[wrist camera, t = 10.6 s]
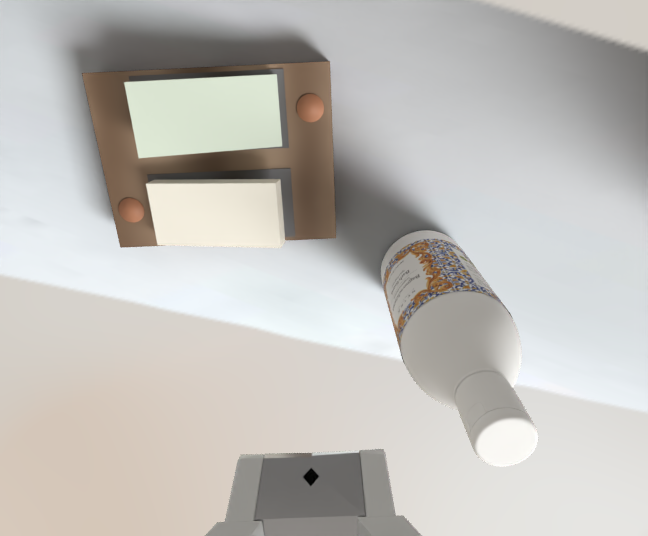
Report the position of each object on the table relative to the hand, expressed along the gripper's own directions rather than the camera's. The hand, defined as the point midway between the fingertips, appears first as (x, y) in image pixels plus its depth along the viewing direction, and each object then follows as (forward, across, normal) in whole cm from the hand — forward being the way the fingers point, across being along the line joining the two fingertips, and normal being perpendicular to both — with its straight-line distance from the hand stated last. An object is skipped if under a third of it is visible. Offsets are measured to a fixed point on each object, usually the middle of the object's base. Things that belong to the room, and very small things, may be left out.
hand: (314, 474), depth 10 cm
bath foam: (+29, -8, +8) cm, 31 cm away
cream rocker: (+25, +7, +1) cm, 26 cm away
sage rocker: (+25, +7, -5) cm, 26 cm away
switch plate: (+29, +7, -2) cm, 30 cm away
